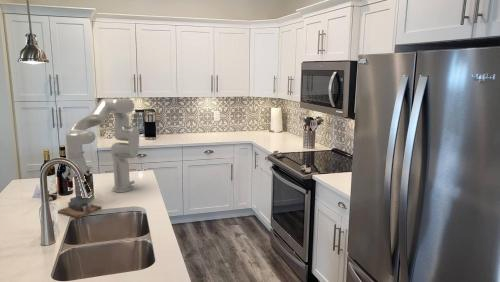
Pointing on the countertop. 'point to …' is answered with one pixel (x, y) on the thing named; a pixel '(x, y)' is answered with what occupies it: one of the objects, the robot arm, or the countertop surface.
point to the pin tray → (78, 214)
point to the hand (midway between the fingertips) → (78, 185)
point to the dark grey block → (78, 203)
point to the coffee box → (90, 183)
